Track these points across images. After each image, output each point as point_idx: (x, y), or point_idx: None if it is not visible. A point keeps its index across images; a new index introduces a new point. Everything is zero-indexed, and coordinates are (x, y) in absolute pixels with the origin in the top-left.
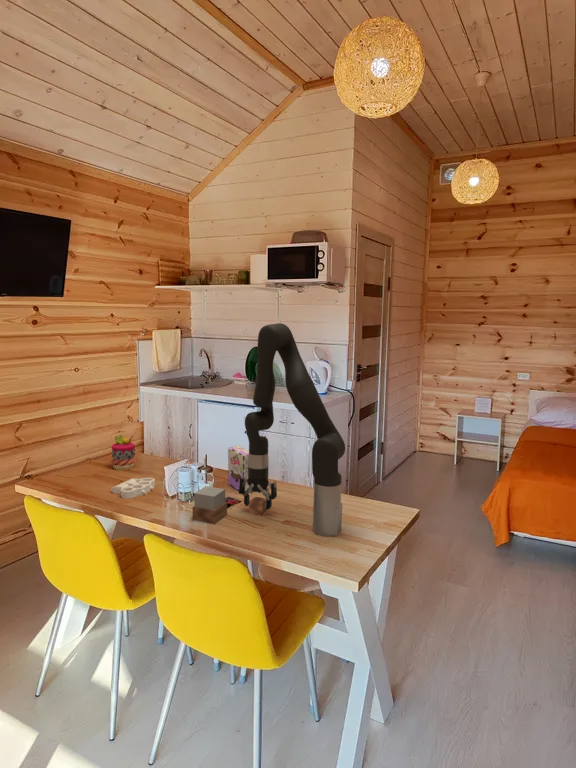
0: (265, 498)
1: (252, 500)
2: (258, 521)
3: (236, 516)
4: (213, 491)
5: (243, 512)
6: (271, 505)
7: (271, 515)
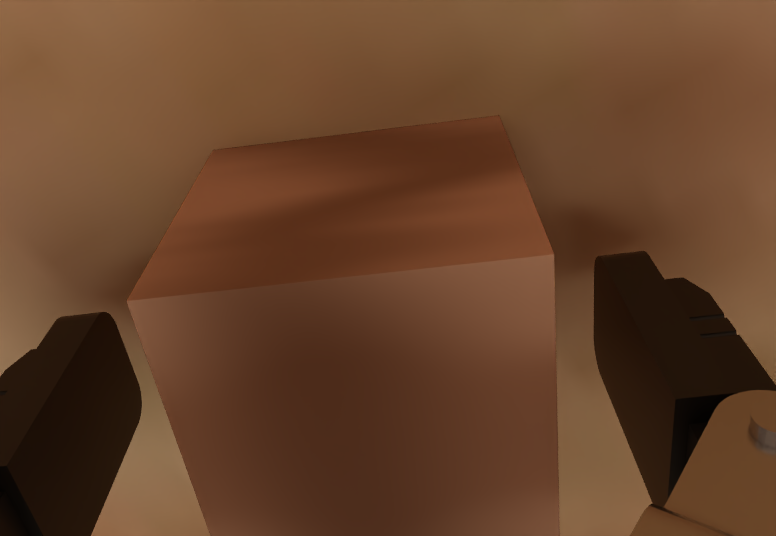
0: (488, 276)
1: (258, 528)
2: (562, 513)
3: (174, 523)
4: None
5: (147, 376)
6: (715, 309)
7: (668, 251)
